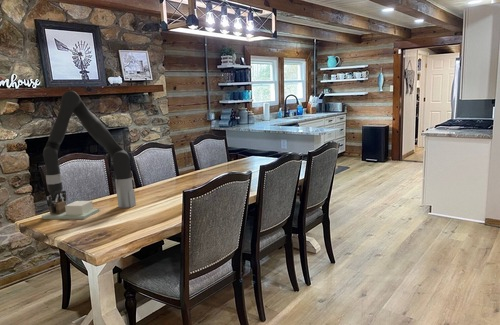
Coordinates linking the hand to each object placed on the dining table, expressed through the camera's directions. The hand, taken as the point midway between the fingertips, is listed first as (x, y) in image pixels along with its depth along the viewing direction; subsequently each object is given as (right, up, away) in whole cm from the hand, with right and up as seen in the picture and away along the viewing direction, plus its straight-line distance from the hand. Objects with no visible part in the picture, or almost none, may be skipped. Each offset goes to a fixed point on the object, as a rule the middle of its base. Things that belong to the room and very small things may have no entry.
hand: (58, 211), depth 214 cm
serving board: (+7, -2, 0) cm, 7 cm away
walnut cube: (0, -1, 0) cm, 1 cm away
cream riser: (+12, 0, 0) cm, 12 cm away
